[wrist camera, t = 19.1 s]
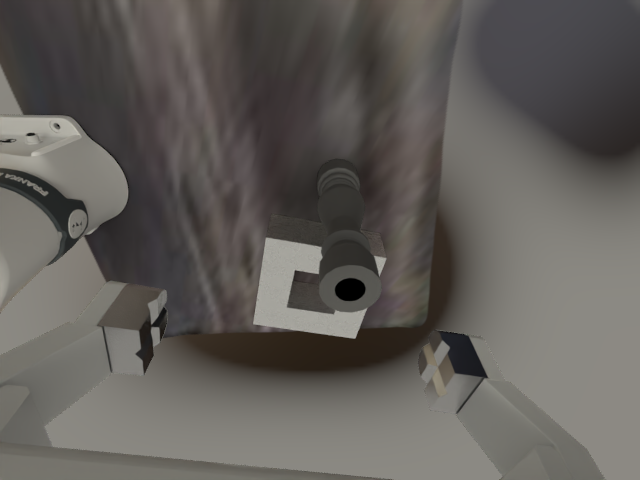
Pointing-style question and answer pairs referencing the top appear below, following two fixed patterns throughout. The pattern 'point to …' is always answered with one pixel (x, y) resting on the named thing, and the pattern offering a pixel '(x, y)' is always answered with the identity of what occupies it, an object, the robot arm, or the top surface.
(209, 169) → the top surface
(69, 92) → the top surface
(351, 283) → the candle holder
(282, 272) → the sleeve block
